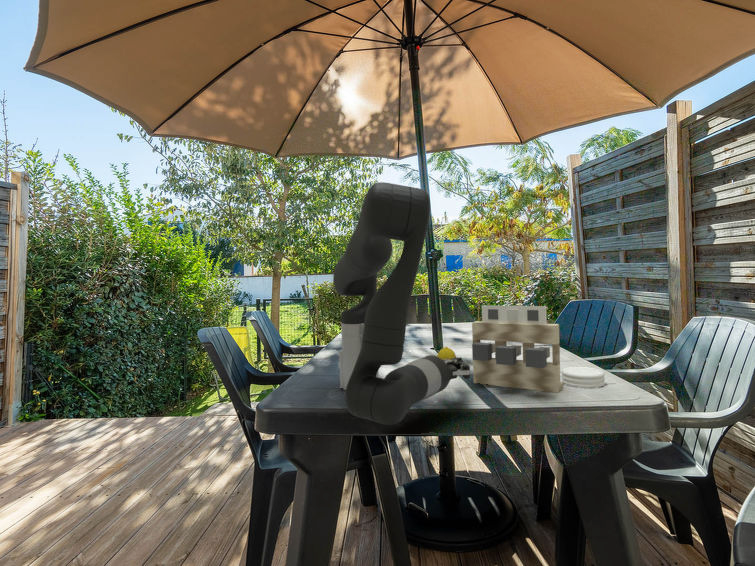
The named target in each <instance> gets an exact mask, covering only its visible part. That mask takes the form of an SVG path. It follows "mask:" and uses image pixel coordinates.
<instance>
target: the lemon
mask: <svg viewBox="0 0 755 566" xmlns="http://www.w3.org/2000/svg"><path fill="white" fill-rule="evenodd" d="M436 356H437V357H439V358H441V359H444V360H445V359H449V360H450V359H452V358H455V357H456V356H457V355H456V353H455V352H454V350H452V349H451V348H450V347H448V346H444V347H443V348H441V349H440V350H439V351H438V353H437V355H436Z"/></svg>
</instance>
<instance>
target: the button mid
mask: <svg viewBox="0 0 755 566" xmlns="http://www.w3.org/2000/svg"><path fill="white" fill-rule="evenodd" d="M521 355H522V345H516V344H515V345H514V344H512V345H507V346H498V347H496V364H501V365H512V366H513V365H514V364H516V363H517V360H518V359H517V357H520V356H521Z"/></svg>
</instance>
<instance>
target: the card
mask: <svg viewBox="0 0 755 566" xmlns="http://www.w3.org/2000/svg"><path fill="white" fill-rule="evenodd" d="M481 318H482V320H481V321H482V323H509V324H537V325H547V324H548V321H547V306H546V305H545V306H541V305H540V306H538V305H536V306H535V305H534V306H533V305H483V304H482V305H481Z"/></svg>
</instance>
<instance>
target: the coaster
mask: <svg viewBox="0 0 755 566" xmlns="http://www.w3.org/2000/svg"><path fill="white" fill-rule="evenodd" d="M605 374H606V373H605V372H604V371H603V370H601V369H599V368H594V367H587V366H586V367H585V366H569V367H564V368H562V369H561V382H563V385H565V384H566V385H565V386H567V387H572V388H578V387H580V388H581V389H595V388H594V387H599V388H602V387H601V386H603V387H604V386H605V384H606V383H605V379H606V378H605ZM580 388H579V389H580Z"/></svg>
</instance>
